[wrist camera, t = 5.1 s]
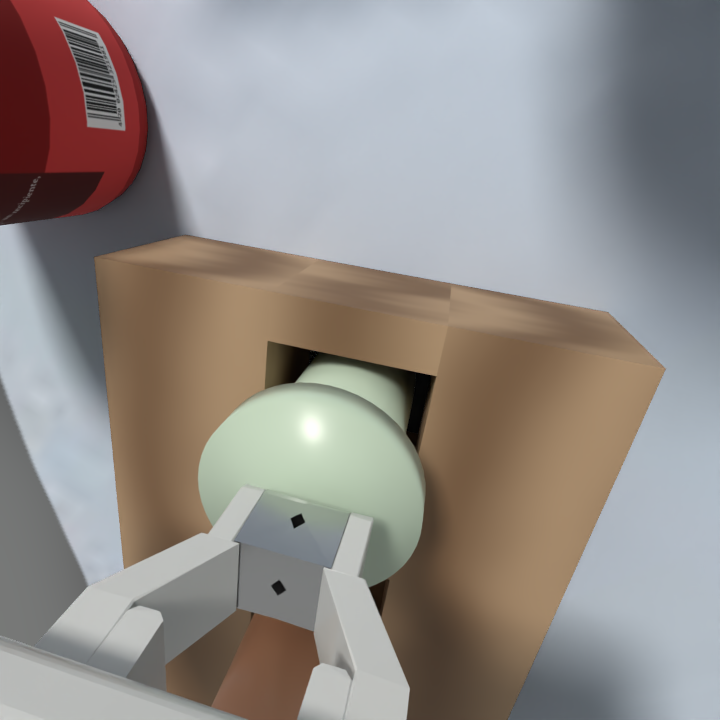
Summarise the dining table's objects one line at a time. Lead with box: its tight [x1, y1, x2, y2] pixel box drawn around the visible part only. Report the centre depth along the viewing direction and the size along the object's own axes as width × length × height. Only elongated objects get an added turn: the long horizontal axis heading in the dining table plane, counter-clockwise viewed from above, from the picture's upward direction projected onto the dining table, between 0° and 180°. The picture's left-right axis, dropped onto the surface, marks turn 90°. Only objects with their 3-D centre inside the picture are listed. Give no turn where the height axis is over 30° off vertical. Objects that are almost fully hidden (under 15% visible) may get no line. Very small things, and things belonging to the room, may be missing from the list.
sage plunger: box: [198, 352, 425, 587], centre depth 15 cm, size 6×6×8 cm
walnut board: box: [94, 235, 665, 720], centre depth 20 cm, size 16×24×5 cm, turn 172°
